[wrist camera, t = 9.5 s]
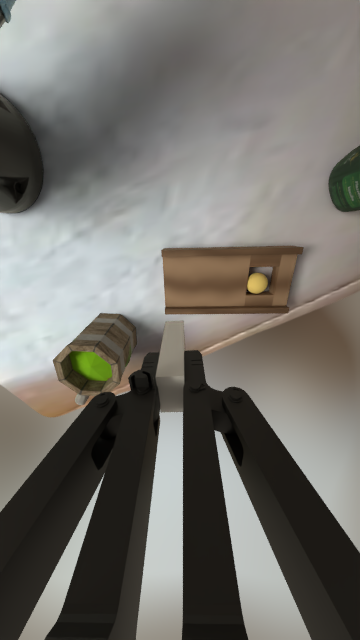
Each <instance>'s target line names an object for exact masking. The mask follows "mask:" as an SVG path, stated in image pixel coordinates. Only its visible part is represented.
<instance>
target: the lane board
mask: <svg viewBox="0 0 360 640" xmlns="http://www.w3.org/2000/svg"><path fill="white" fill-rule="evenodd" d="M303 248H304V247H296V246H262V247H213V248H164V249H163V250H161V251H162V257H163V271H164V288H165V306H166V307H165V314H256V313H288V311H289V307H287V306H286V303H287V299H288V295H289V290H290V286H291V281H292V277H293V272H294V268H295V264H296V259H297V255H298V254H302V252H303ZM249 267H273V271H272V276H271V282H270V287H269V291H263V292H261V293H257V294H255V293H251V292H246V290H247V282H248V274H249Z"/></svg>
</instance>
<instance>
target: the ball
mask: <svg viewBox="0 0 360 640" xmlns="http://www.w3.org/2000/svg"><path fill="white" fill-rule="evenodd" d="M267 285H268V280H267V278H266V276H265V275H263V274H261V273H254V274H252V275H250V276H249V277H248V282H247V289H248V290H249V291H250V292H251V293H255V294H257V293H261V292H263V291H264V290H265V289H266V287H267Z"/></svg>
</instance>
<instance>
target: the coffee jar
mask: <svg viewBox="0 0 360 640" xmlns="http://www.w3.org/2000/svg"><path fill="white" fill-rule="evenodd" d="M329 192H330V196H331V199H332V201H333V204H334V205H335V207H336V208H337V209H338V210H340V211H343V212H349V211H357V210H360V146H358V147H357V148H356V149H354V150H353V151H351V152H350V153H349V154H348V155H346V156H345V157H344V158H343V159H342V160H341V161H340V162H338V163H337V165H336V166H335V167H334V169H333V170H332V172H331V175H330V178H329Z"/></svg>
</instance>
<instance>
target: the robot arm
mask: <svg viewBox="0 0 360 640" xmlns="http://www.w3.org/2000/svg"><path fill="white" fill-rule="evenodd" d="M15 1H16V0H0V28H1V27H2V25H3V24H4V22H5V21H6V22H7V23H9V22H10V20H11V13H10V11H11V9H12V7H13V5H14V3H15ZM42 182H43V164H42V158H41V154H40V150H39V147H38V144H37V142H36V139H35V137H34V135H33V133H32V131H31V129H30V127H29V126H28V124H27V122H26V121H25V119H24V118H23V117H22V115H21V114H20V113H19V111H18V110H17V109H16V108H15V107H14V106H13V105H12V104H11V103H10V102H9V101H8V100H7V99H6V98H4V97H3V96H2V95H0V213H18V212H21V211H24V210H26V209H27V208H29V207H30V206H31V205H32V204H33V203H34V202H35V201H36V199H37V197H38V195H39V193H40V190H41V187H42ZM128 379H129V383H130V388H131V391H130V392H128V393H125V394H122V395H119V396H115V395H114V393H112V392H103V393H100V394H98V395H96V396H95V397H94V398H93V399H92V400H91V401H90V402H89V404H88V405H87V406H86V407H85V408H84V410H83V411H82V412H81V414H80V415H79V416H78V417H77V418H76V420H75V421H74V422H73V423H72V424H71V426H70V427H69V428H68V429H67V431H66V432H65V433H64V435H63V436H62V437H61V438H60V439H59V441H58V442H57V443H56V444H55V446H54V447H53V448H52V449H51V450H50V452H49V453H48V454H47V455H46V457H45V458H44V459H43V460H42V462H41V463H40V464H39V465H38V466H37V468H36V469H35V470H34V471H33V473H32V474H31V475H30V476H29V478H28V479H27V480H26V481H25V482H24V484H23V485H22V486H21V487H20V489H19V490H18V491H17V492H16V494H15V495H14V496H13V497H12V499H11V500H10V501H9V502H8V503H7V505H6V506H5V507H4V508H3V510H2V511H1V512H0V640H18V639H19V637H20V635H21V633H22V631H23V629H24V627H25V625H26V623H27V621H28V619H29V618H30V616H31V614H32V611H33V610H34V608H35V606H36V604H37V602H38V600H39V598H40V596H41V594H42V593H43V591H44V589H45V587H46V585H47V583H48V581H49V579H50V577H51V575H52V573H53V571H54V570H55V567H56V566H57V564H58V562H59V560H60V558H61V556H62V554H63V552H64V550H65V548H66V546H67V545H68V543H69V541H70V539H71V537H72V535H73V533H74V531H75V529H76V527H77V525H78V523H79V521H80V520H81V518H82V516H83V514H84V512H85V510H86V508H87V506H88V504H89V502H90V500H91V498H92V496H93V495H94V493H95V491H96V489H97V487H98V485H99V483H100V481H101V479H102V477H103V475H104V478H103V481H102V484H101V487H100V490H99V494H98V497H97V500H96V503H95V506H94V510H93V513H92V516H91V519H90V522H89V526H88V529H87V532H86V535H85V538H84V541H83V544H82V548H81V551H80V554H79V557H78V561H77V564H76V567H75V570H74V573H73V576H72V580H71V583H70V586H69V589H68V592H67V596H66V599H65V602H64V605H63V608H62V611H61V613H60V615H59V618H58V620H57V622H56V623H55V625H54V626H53V628H52V629H51V631H50V632H49V633H48V635H47V636H46V638H45V640H136V629H137V620H138V611H139V602H140V593H141V585H142V576H143V567H144V557H145V550H146V541H147V532H148V523H149V514H150V504H151V497H152V488H153V479H154V470H155V462H156V453H157V443H158V435H159V426H160V416H159V412H160V410H161V412H183V628H182V640H248V637H247V633H246V629H245V625H244V621H243V615H242V609H241V603H240V598H239V590H238V584H237V577H236V571H235V564H234V557H233V551H232V544H231V538H230V531H229V524H228V518H227V512H226V505H225V498H224V491H223V485H222V479H221V472H220V465H219V459H218V452H217V445H216V439H215V432H214V430H216V431H219V432H221V434H222V436H223V439H224V441H225V443H226V445H227V448H228V450H229V452H230V454H231V457H232V459H233V461H234V464H235V466H236V468H237V470H238V472H239V474H240V477H241V479H242V482H243V484H244V486H245V489H246V491H247V493H248V495H249V498H250V500H251V502H252V505H253V507H254V509H255V511H256V514H257V516H258V518H259V520H260V523H261V525H262V527H263V530H264V532H265V534H266V536H267V539H268V541H269V543H270V546H271V548H272V550H273V552H274V555H275V557H276V559H277V561H278V564H279V566H280V568H281V570H282V573H283V575H284V577H285V580H286V582H287V584H288V586H289V589H290V591H291V593H292V596H293V598H294V600H295V602H296V605H297V607H298V609H299V612H300V614H301V616H302V618H303V621H304V623H305V625H306V628H307V630H308V632H309V634H310V637H311V639H312V640H360V553H359V551H358V550H357V549H356V547H355V546H354V544H353V543H352V541H351V540H350V538H349V537H348V536H347V534H346V533H345V531H344V530H343V529H342V527H341V526H340V524H339V523H338V521H337V520H336V519H335V517H334V516H333V514H332V513H331V512H330V510H329V509H328V507H327V506H326V504H325V503H324V502H323V500H322V499H321V497H320V496H319V495H318V493H317V492H316V490H315V489H314V487H313V486H312V485H311V483H310V482H309V480H308V479H307V478H306V476H305V475H304V473H303V472H302V470H301V469H300V468H299V466H298V465H297V464H296V462H295V461H294V459H293V458H292V456H291V455H290V453H289V452H288V451H287V449H286V448H285V446H284V445H283V444H282V442H281V441H280V439H279V438H278V436H277V435H276V434H275V432H274V431H273V429H272V428H271V427H270V425H269V424H268V422H267V421H266V419H265V418H264V417H263V415H262V414H261V412H260V411H259V409H258V408H257V407H256V406H255V404H254V402H253V401H252V400H251V398H250V397H249V395H248V394H247V393H246V392H245V391H244V390H242V389H240V388H237V387H229V388H227V389H225V390H224V391H223V392H222V391H217V390H215V389H212V388H211V387H210V386H208V384H207V383H206V380H205V374H204V367H203V361H202V354H201V353H200V352H199V351H198V350H193V351H185V340H184V322H183V321H167V322H165V328H164V333H163V339H162V344H161V350H160V352H157V353H148V354H147V355H146V356H145V357H144V361H143V364H142V368H141V370H138V371H136V372H134V373H132V374H131V375H130V377H129V378H128ZM104 473H105V474H104Z"/></svg>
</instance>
